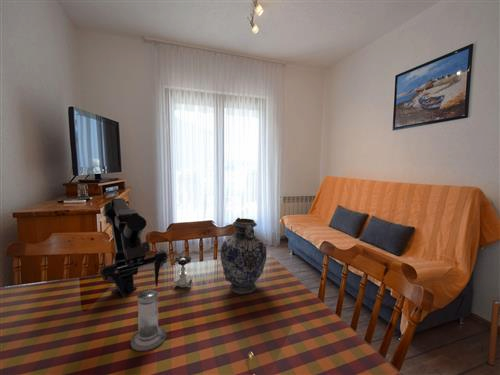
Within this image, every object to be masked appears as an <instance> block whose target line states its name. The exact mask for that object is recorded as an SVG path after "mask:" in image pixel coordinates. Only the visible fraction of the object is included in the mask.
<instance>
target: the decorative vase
mask: <svg viewBox="0 0 500 375" xmlns="http://www.w3.org/2000/svg"><path fill="white" fill-rule="evenodd" d="M234 220H235V221H233V223H232V226H233V227H235V230H234V231H235V232H234V233H233V234H231V235H228V236H227V237H226V238H225V239H224V241H223V242H222V244H221V247H220V260H221V261H220V262H221V266H222V269H223V276H225V281H226V282H229V283H230V285H229V286H230V287H229V288H230V290H231V292H234V293H235V294H239V295H247V294H251V293H254V292H255V291H256V290H257V285H256V282H257V281H258V280H259V278H260V277H261V275H262V274H263V272H264V269H265V265H266V262H267V245H266V243H265V241H264V239H263V238H261V237H260V236H258V235H256V234H255V232H256V231H255V227H257V223H256V222H255V220H254V219H250V218H240V217H237V218H236V219H234Z"/></svg>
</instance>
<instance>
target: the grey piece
mask: <svg viewBox="0 0 500 375" xmlns="http://www.w3.org/2000/svg"><path fill="white" fill-rule="evenodd" d="M158 302H159V292H158V291H156V290H145V291H143V292H140V293H139V294H138V295H137V313H138V314H137V315H138V316H137V317H138V318H137V319H138V320H137V321H138V326H137V327H138V332H139V333H138V339H139V340H140V341H143V342H146V341H150V340H153V339H154V338H156V337H157V335H158V333H159V330H158V327H159V303H158Z"/></svg>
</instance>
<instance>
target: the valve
mask: <svg viewBox="0 0 500 375" xmlns="http://www.w3.org/2000/svg"><path fill="white" fill-rule="evenodd" d="M191 261H192V257H191V256H188V255H184V256H183V255H179V257H175V259H174V263H177V264H178V265H180V272H179V276H175V277H174V280H173V286H176V287H179V288H182V289H183V288H191V287H192V286H193V278H189V277H187V275H188V273H187V272H186V265H187V264H189V263H190V262H191Z"/></svg>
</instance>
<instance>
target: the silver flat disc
mask: <svg viewBox="0 0 500 375" xmlns="http://www.w3.org/2000/svg"><path fill="white" fill-rule="evenodd" d="M158 330H159V333H158V335H157V337H156V338H154V339H153V340H150V341H146V342H143V341H140V340H139V339H138V333H139V331H137V332H136V333H135V334H134V335H133V336H132V337H131V340H130V347H131V349H133V351H136V352H143V353H144V352H147V351H148V352H149V351H152V350H155V349H156V348H158V347H159V346H161V345H162V344H163V343H164V342H165V339H166V336H167V332H166V329H164V328H163V327H162V326H158Z"/></svg>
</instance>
